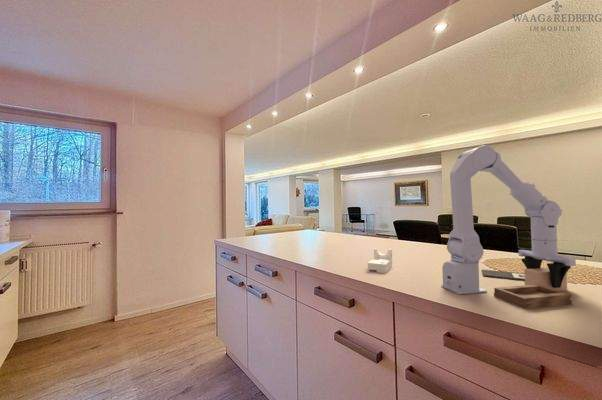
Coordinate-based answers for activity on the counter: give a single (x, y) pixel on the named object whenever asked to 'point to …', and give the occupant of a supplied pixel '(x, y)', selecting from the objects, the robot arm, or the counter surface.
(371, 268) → the bracket
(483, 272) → the chocolate bar
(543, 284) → the clay block
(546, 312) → the counter surface
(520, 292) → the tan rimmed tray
